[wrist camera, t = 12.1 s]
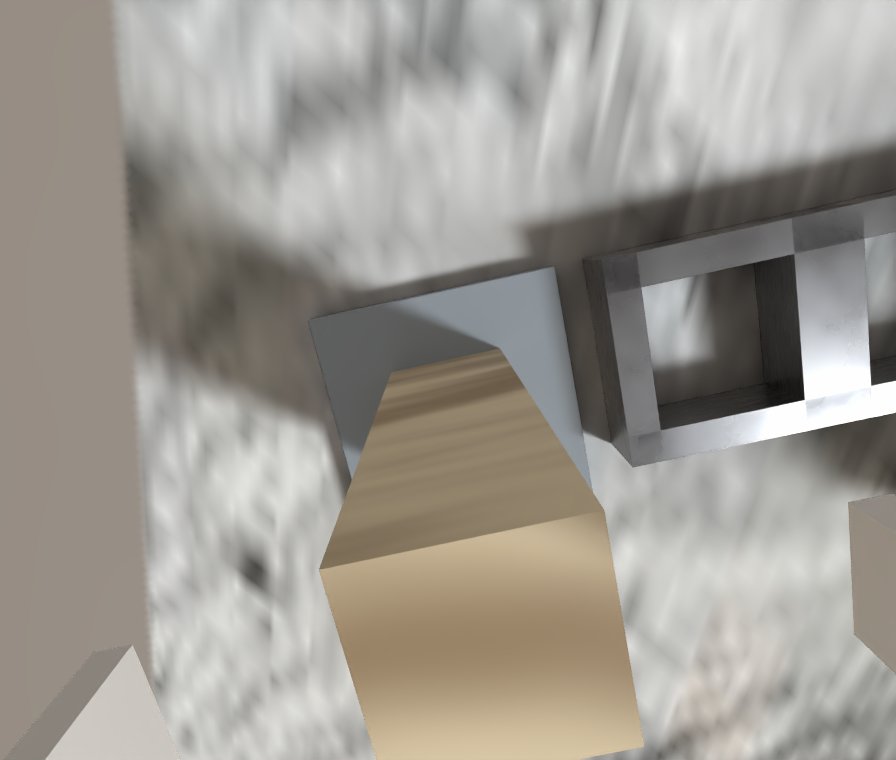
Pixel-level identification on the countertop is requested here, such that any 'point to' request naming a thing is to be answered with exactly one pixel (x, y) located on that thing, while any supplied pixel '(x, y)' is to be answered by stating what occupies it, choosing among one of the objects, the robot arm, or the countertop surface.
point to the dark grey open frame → (781, 328)
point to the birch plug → (477, 579)
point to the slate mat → (452, 350)
